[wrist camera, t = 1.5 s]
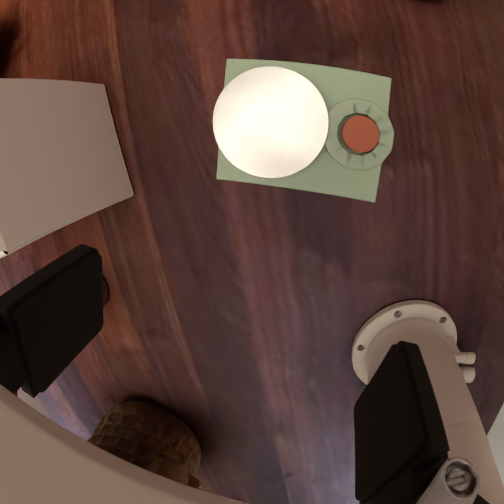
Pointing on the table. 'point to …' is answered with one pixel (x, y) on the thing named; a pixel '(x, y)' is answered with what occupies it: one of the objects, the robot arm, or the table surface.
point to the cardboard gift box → (55, 157)
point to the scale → (331, 132)
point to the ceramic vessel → (150, 441)
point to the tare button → (360, 134)
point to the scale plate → (270, 122)
